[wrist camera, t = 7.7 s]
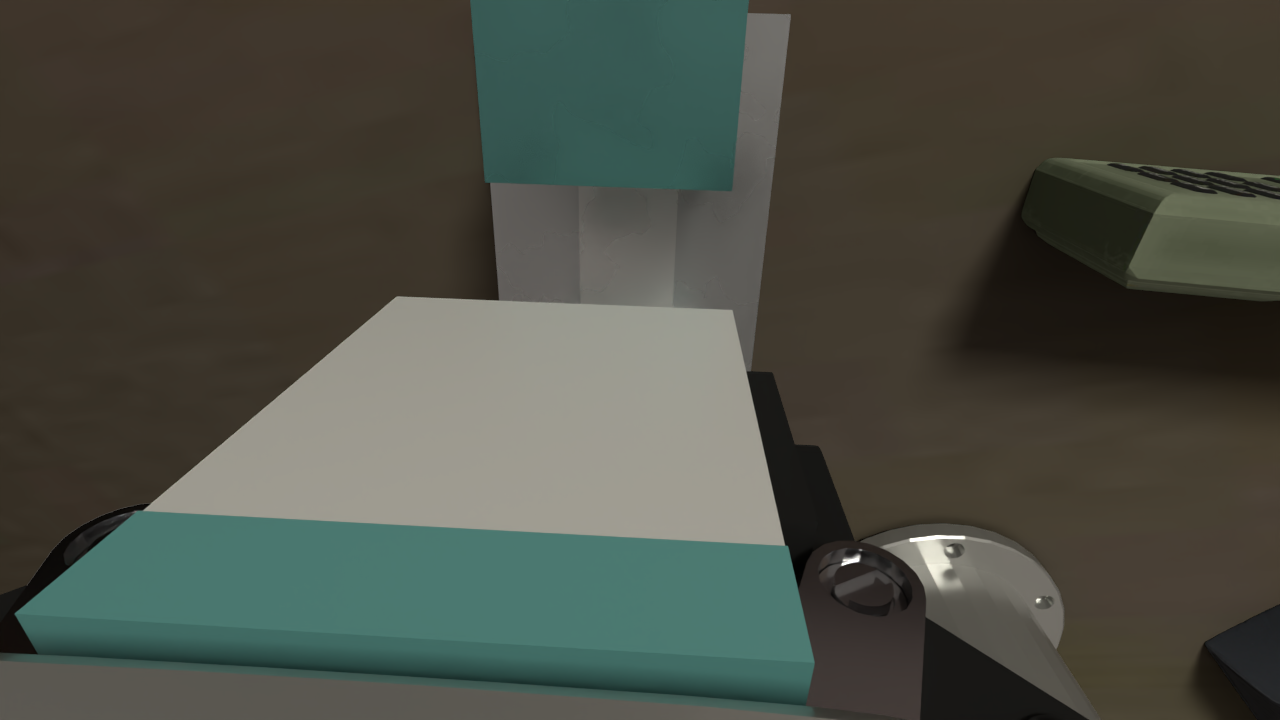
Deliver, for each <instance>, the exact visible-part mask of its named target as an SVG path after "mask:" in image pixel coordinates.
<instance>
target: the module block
mask: <svg viewBox="0 0 1280 720" xmlns="http://www.w3.org/2000/svg"><path fill="white" fill-rule="evenodd" d="M15 615H16V617H17V619H18V621H19V622H20V624H21V626H22V627H23V629H24V631H25V633H26V634H27V636H28V638H29V639H30V641H31V643H32V645H33V646H34V648H35V650H36V651H37V653H38V655H59V656H80V657H97V658H114V659H132V660H149V661H166V662H183V663H200V664H217V665H234V666H251V667H268V668H284V669H299V670H315V671H331V672H347V673H362V674H378V675H394V676H409V677H424V678H439V679H455V680H470V681H485V682H500V683H514V684H529V685H543V686H557V687H571V688H585V689H600V690H614V691H628V692H642V693H657V694H671V695H685V696H698V697H709V698H721V699H732V700H744V701H755V702H767V703H779V704H790V705H801V706H806V702H807V697H808V693H809V688H810V683H811V679H812V674H813V669H814V664H815V661H814V657H813V653H812V648H811V644H810V640H809V635H808V631H807V626H806V622H805V618H804V613H803V609H802V605H801V600H800V596H799V592H798V587H797V583H796V578H795V574H794V570H793V565H792V561H791V557H790V552H789V548H788V546H785V543H784V538H783V534H782V530H781V525H780V521H779V516H778V512H777V507H776V503H775V498H774V494H773V489H772V485H771V480H770V476H769V471H768V467H767V462H766V458H765V453H764V449H763V444H762V440H761V435H760V431H759V427H758V422H757V418H756V413H755V409H754V404H753V400H752V395H751V391H750V386H749V382H748V377H747V373H746V368H745V364H744V359H743V355H742V350H741V346H740V341H739V337H738V332H737V328H736V324H735V319H734V315H733V310H721V309H696V308H671V307H646V306H620V305H595V304H570V303H545V302H520V301H495V300H469V299H444V298H419V297H396V298H394V299H393V300H392V301H391V302H390V303H389V304H387V305H386V306H385V307H384V308H383V309H381V310H380V311H379V312H378V313H377V314H376V315H374V316H373V317H372V318H371V319H370V320H368V321H367V322H366V323H365V324H364V325H362V326H361V327H360V328H359V329H358V330H357V331H355V332H354V333H353V334H352V335H351V336H349V337H348V338H347V339H346V340H345V341H343V342H342V343H341V344H340V345H339V346H338V347H336V348H335V349H334V350H333V351H332V352H330V353H329V354H328V355H327V356H326V357H325V358H323V359H322V360H321V361H320V362H319V363H317V364H316V365H315V366H314V367H313V368H311V369H310V370H309V371H308V372H307V373H306V374H304V375H303V376H302V377H301V378H300V379H298V380H297V381H296V382H295V383H294V384H292V385H291V386H290V387H289V388H288V389H287V390H285V391H284V392H283V393H282V394H281V395H279V396H278V397H277V398H276V399H275V400H274V401H272V402H271V403H270V404H269V405H268V406H266V407H265V408H264V409H263V410H262V411H260V412H259V413H258V414H257V415H256V416H255V417H253V418H252V419H251V420H250V421H249V422H247V423H246V424H245V425H244V426H243V427H241V428H240V429H239V430H238V431H237V432H236V433H234V434H233V435H232V436H231V437H230V438H228V439H227V440H226V441H225V442H224V443H223V444H221V445H220V446H219V447H218V448H217V449H215V450H214V451H213V452H212V453H211V454H209V455H208V456H207V457H206V458H205V459H204V460H202V461H201V462H200V463H199V464H198V465H196V466H195V467H194V468H193V469H192V470H190V471H189V472H188V473H187V474H186V475H185V476H183V477H182V478H181V479H180V480H179V481H177V482H176V483H175V484H174V485H173V486H171V487H170V488H169V489H168V490H167V491H166V492H164V493H163V494H162V495H161V496H160V497H158V498H157V499H156V500H155V501H154V502H153V503H151V504H150V505H149V506H148V507H147V508H145V509H144V510H143V511H137V512H136V513H135V514H133V515H132V516H131V517H130V518H129V519H127V520H126V521H125V522H124V523H123V524H121V525H120V526H119V527H118V528H117V529H115V530H114V531H113V532H112V533H111V534H109V535H108V536H107V537H106V538H105V539H103V540H102V541H101V542H100V543H99V544H97V545H96V546H95V547H94V548H93V549H91V550H90V551H89V552H88V553H87V554H85V555H84V556H83V557H82V558H81V559H79V560H78V561H77V562H76V563H75V564H73V565H72V566H71V567H70V568H69V569H67V570H66V571H65V572H64V573H63V574H62V575H60V576H59V577H58V578H57V579H56V580H54V581H53V582H52V583H51V584H50V585H48V586H47V587H46V588H45V589H44V590H42V591H41V592H40V593H39V594H38V595H36V596H35V597H34V598H33V599H32V600H30V601H29V602H28V603H27V604H26V605H24V606H23V607H22V608H21V609H20V610H18V611H17V612H16V613H15Z"/></svg>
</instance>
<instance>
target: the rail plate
mask: <svg viewBox="0 0 1280 720" xmlns="http://www.w3.org/2000/svg"><path fill="white" fill-rule="evenodd" d="M470 1H471V14H472V26H473V39H474V51H475V64H476V76H477V89H478V101H479V113H480V126H481V138H482V151H483V163H484V176H485V183H490V186H491V199H492V212H493V225H494V238H495V251H496V264H497V277H498V290H499V301H520V302H545V303H570V304H595V305H620V306H646V307H671V308H696V309H721V310H733V315H734V319H735V324H736V328H737V332H738V337H739V341H740V346H741V350H742V355H743V359H744V364H745V368H746V371H751V364H752V356H753V347H754V338H755V329H756V320H757V311H758V302H759V293H760V284H761V276H762V267H763V258H764V249H765V240H766V231H767V222H768V213H769V204H770V195H771V187H772V178H773V169H774V160H775V151H776V142H777V133H778V124H779V115H780V106H781V98H782V89H783V80H784V71H785V62H786V53H787V44H788V35H789V26H790V17H791V14H751V13H748V2H749V0H470Z"/></svg>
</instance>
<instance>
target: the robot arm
mask: <svg viewBox="0 0 1280 720" xmlns="http://www.w3.org/2000/svg"><path fill="white" fill-rule="evenodd" d="M746 373H747V377H748V382H749V386H750V391H751V395H752V400H753V404H754V409H755V413H756V418H757V422H758V427H759V431H760V435H761V440H762V444H763V449H764V453H765V458H766V462H767V467H768V471H769V476H770V480H771V485H772V489H773V494H774V498H775V503H776V507H777V512H778V516H779V521H780V525H781V530H782V534H783V538H784V543H785V546H788V548H789V552H790V557H791V561H792V565H793V570H794V574H795V578H796V583H797V587H798V592H799V596H800V600H801V605H802V609H803V613H804V618H805V622H806V626H807V631H808V635H809V640H810V644H811V648H812V653H813V657H814V661H815V664H814V669H813V674H812V679H811V683H810V688H809V693H808V697H807V702H806V706H801V705H790V704H779V703H767V702H755V701H744V700H732V699H721V698H709V697H698V696H685V695H671V694H657V693H642V692H628V691H614V690H600V689H585V688H571V687H557V686H543V685H529V684H514V683H500V682H485V681H470V680H455V679H439V678H424V677H409V676H394V675H378V674H362V673H347V672H331V671H315V670H299V669H284V668H268V667H251V666H234V665H217V664H200V663H183V662H166V661H149V660H132V659H114V658H97V657H80V656H59V655H38V653H37V651H36V650H35V648H34V646H33V645H32V643H31V641H30V639H29V638H28V636H27V634H26V633H25V631H24V629H23V627H22V626H21V624H20V622H19V621H18V619H17V617H16V615H15V613H16V612H17V611H18V610H20V609H21V608H22V607H23V606H24V605H26V604H27V603H28V602H29V601H30V600H32V599H33V598H34V597H35V596H36V595H38V594H39V593H40V592H41V591H42V590H44V589H45V588H46V587H47V586H48V585H50V584H51V583H52V582H53V581H54V580H56V579H57V578H58V577H59V576H60V575H62V574H63V573H64V572H65V571H66V570H67V569H69V568H70V567H71V566H72V565H73V564H75V563H76V562H77V561H78V560H79V559H81V558H82V557H83V556H84V555H85V554H87V553H88V552H89V551H90V550H91V549H93V548H94V547H95V546H96V545H97V544H99V543H100V542H101V541H102V540H103V539H105V538H106V537H107V536H108V535H109V534H111V533H112V532H113V531H114V530H115V529H117V528H118V527H119V526H120V525H121V524H123V523H124V522H125V521H126V520H127V519H129V518H130V517H131V516H132V515H133V514H135V513H136V512H137V511H143V510H144V509H145V508H147V507H148V506H149V505H150V504H151V503H149V504H139V505H134V506H130V507H126V508H121V509H118V510H115V511H113V512H110V513H107V514H104V515H102V516H99V517H97V518H95V519H93V520H91V521H89V522H87V523H85V524H83V525H82V526H80V527H78V528H77V529H76V530H74V531H73V532H71V533H70V534H68V535H67V536H66V537H64V538H63V539H62V540H61V541H60V542H59V543H58V544H57V546H56V547H55V548H54V549H53V550H52V551H51V553H50V554H49V555H48V557H47V558H46V560H45V561H44V562H43V564H42V565H41V567H40V568H39V569H38V571H37V572H36V574H35V575H34V576H33V578H32V579H31V580H30V582H29V583H28V585H26V586H23V587H21V588H18V589H15V590H12V591H10V592H7V593H4V594H2V595H0V720H1101V718H1100V717H1099V715H1098V714H1097V712H1096V711H1095V709H1094V708H1093V706H1092V705H1091V703H1090V701H1089V700H1088V698H1087V697H1086V695H1085V694H1084V692H1083V691H1082V689H1081V687H1080V686H1079V684H1078V683H1077V681H1076V680H1075V678H1074V677H1073V675H1072V674H1071V672H1070V670H1069V669H1068V667H1067V666H1066V664H1065V663H1064V661H1063V660H1062V658H1061V656H1060V655H1059V653H1058V652H1057V650H1056V648H1057V647H1058V645H1059V642H1060V639H1061V635H1062V632H1063V629H1064V606H1063V602H1062V599H1061V595H1060V591H1059V590H1058V588H1057V587H1056V585H1055V583H1054V582H1053V580H1052V578H1051V577H1050V575H1049V574H1048V573H1047V571H1046V570H1045V569H1044V567H1043V566H1042V565H1041V564H1040V563H1039V561H1038V560H1037V559H1036V558H1035V556H1034V555H1033V554H1031V553H1030V552H1029V551H1027V550H1026V549H1025V548H1023V547H1022V546H1021V545H1019V544H1018V543H1017V542H1015V541H1013V540H1010V539H1008V538H1006V537H1004V536H1002V535H1000V534H998V533H995V532H992V531H988V530H984V529H981V528H977V527H973V526H967V525H956V524H946V523H941V524H921V525H913V526H908V527H903V528H898V529H893V530H889V531H886V532H883V533H880V534H877V535H875V536H872V537H869V538H866V539H864V540H862V541H860V542H858V541H854V538H853V535H852V533H851V530H850V527H849V524H848V522H847V519H846V516H845V514H844V511H843V508H842V506H841V503H840V500H839V497H838V495H837V492H836V489H835V487H834V484H833V481H832V478H831V476H830V473H829V470H828V468H827V465H826V462H825V460H824V457H823V454H822V452H821V450H820V448H819V447H818V446H814V445H795V444H794V441H793V437H792V434H791V431H790V428H789V424H788V421H787V418H786V415H785V411H784V408H783V405H782V402H781V398H780V395H779V392H778V389H777V385H776V382H775V379H774V376H773V373H772V372H753V371H746Z"/></svg>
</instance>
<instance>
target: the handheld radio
mask: <svg viewBox="0 0 1280 720" xmlns="http://www.w3.org/2000/svg"><path fill="white" fill-rule="evenodd" d="M1021 217H1022V219H1023V221H1024V222H1025V223H1026V225H1027V226H1028V227H1030V228H1032V229H1034V230H1036V233H1037V236H1038V237H1040V238H1041V239H1042V240H1044V241H1045V242H1046V243H1048V244H1050V245H1051V246H1053V247H1055V248H1057V249H1058V250H1060V251H1062V252H1064V253H1065V254H1067V255H1069V256H1071V257H1072V258H1074V259H1076V260H1078V261H1080V262H1081V263H1083V264H1085V265H1087V266H1088V267H1090V268H1092V269H1094V270H1095V271H1097V272H1099V273H1101V274H1103V275H1104V276H1106V277H1108V278H1110V279H1111V280H1113V281H1115V282H1117V283H1118V284H1120V285H1122V286H1124V287H1125V288H1127V289H1137V290H1147V291H1158V292H1168V293H1179V294H1189V295H1200V296H1211V297H1221V298H1232V299H1242V300H1253V301H1278V300H1280V176H1273V175H1261V174H1249V173H1237V172H1225V171H1213V170H1201V169H1189V168H1177V167H1165V166H1153V165H1141V164H1129V163H1117V162H1105V161H1093V160H1081V159H1069V158H1052V159H1047V160H1045V161H1044V162H1043V163H1042V164H1041V165H1040V166H1039V167H1037V168H1036V169H1035V172H1034V175H1033V178H1032V182H1031V185H1030V188H1029V191H1028V194H1027V197H1026V200H1025V203H1024V206H1023V209H1022V214H1021Z"/></svg>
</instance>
